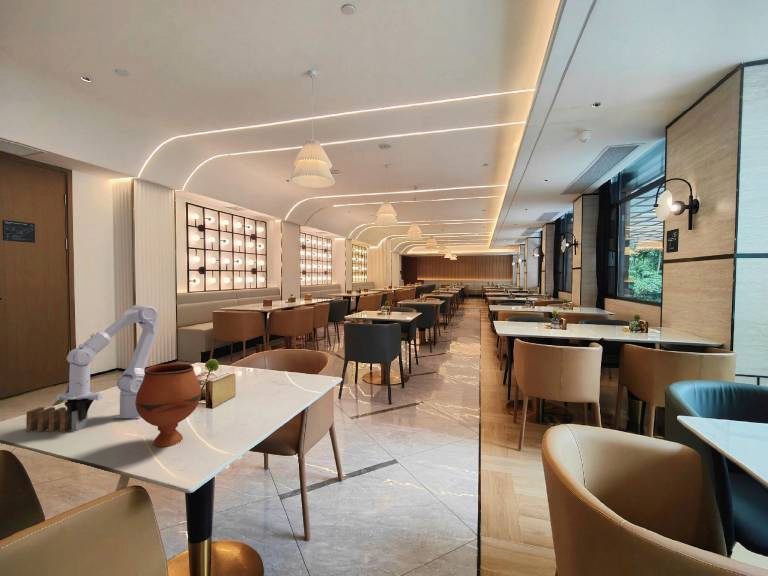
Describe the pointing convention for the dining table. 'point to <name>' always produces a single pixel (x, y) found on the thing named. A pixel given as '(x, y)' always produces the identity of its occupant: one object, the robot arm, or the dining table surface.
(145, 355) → the robot arm
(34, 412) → the walnut end tile
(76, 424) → the slate head tile
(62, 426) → the walnut tile
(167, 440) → the goblet
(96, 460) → the dining table surface
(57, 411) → the walnut tile
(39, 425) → the walnut tile
